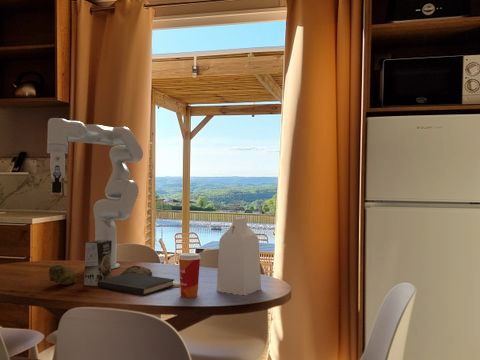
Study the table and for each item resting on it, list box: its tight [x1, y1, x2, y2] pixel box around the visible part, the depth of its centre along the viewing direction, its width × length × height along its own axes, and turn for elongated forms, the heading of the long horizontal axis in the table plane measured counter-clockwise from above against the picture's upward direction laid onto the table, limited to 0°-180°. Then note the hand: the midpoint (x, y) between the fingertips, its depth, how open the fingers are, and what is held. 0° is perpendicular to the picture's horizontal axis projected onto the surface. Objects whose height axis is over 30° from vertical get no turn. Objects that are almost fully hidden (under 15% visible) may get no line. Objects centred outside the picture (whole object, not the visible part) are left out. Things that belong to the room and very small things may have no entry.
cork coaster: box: [170, 281, 180, 289], centre depth 159 cm, size 8×8×1 cm
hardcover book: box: [97, 273, 175, 296], centre depth 155 cm, size 16×23×2 cm
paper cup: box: [177, 252, 202, 299], centre depth 143 cm, size 8×8×14 cm
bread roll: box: [119, 265, 153, 276], centre depth 174 cm, size 13×12×5 cm
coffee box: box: [83, 240, 112, 287], centre depth 161 cm, size 9×6×16 cm
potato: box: [48, 264, 77, 286], centre depth 158 cm, size 8×13×8 cm, turn 153°
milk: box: [216, 217, 262, 296], centre depth 153 cm, size 12×12×26 cm
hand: (56, 192), depth 167 cm, fingers open, 9 cm apart
